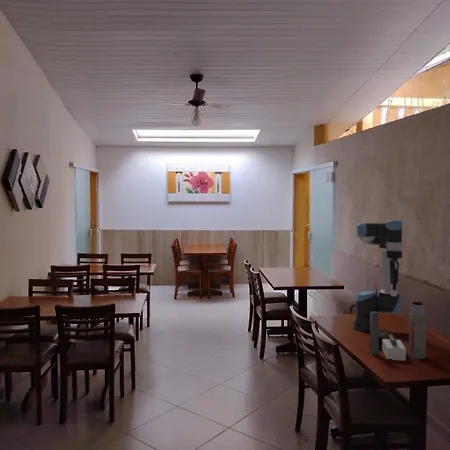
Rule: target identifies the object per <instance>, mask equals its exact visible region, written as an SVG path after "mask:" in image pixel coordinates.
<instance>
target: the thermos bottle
mask: <svg viewBox="0 0 450 450" xmlns="http://www.w3.org/2000/svg"><path fill="white" fill-rule="evenodd" d="M411 306H412V307H410V312H408V334H409V335H408V357H410V358H412V359H417V360H423V359H426V357H427V356H426V355H427V349H426V348H427V314H426V313H425V312H426V311H425V308H423V307H424V303H423V302H421V301H412V305H411Z"/></svg>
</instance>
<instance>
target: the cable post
mask: <svg viewBox="0 0 450 450" xmlns="http://www.w3.org/2000/svg"><path fill="white" fill-rule="evenodd" d="M378 328H379V313H378V312H370V332H369V333H370V337H369V347H370V355H371V356H379V355H378V354H379V349H380V348H379V344H378Z"/></svg>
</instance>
